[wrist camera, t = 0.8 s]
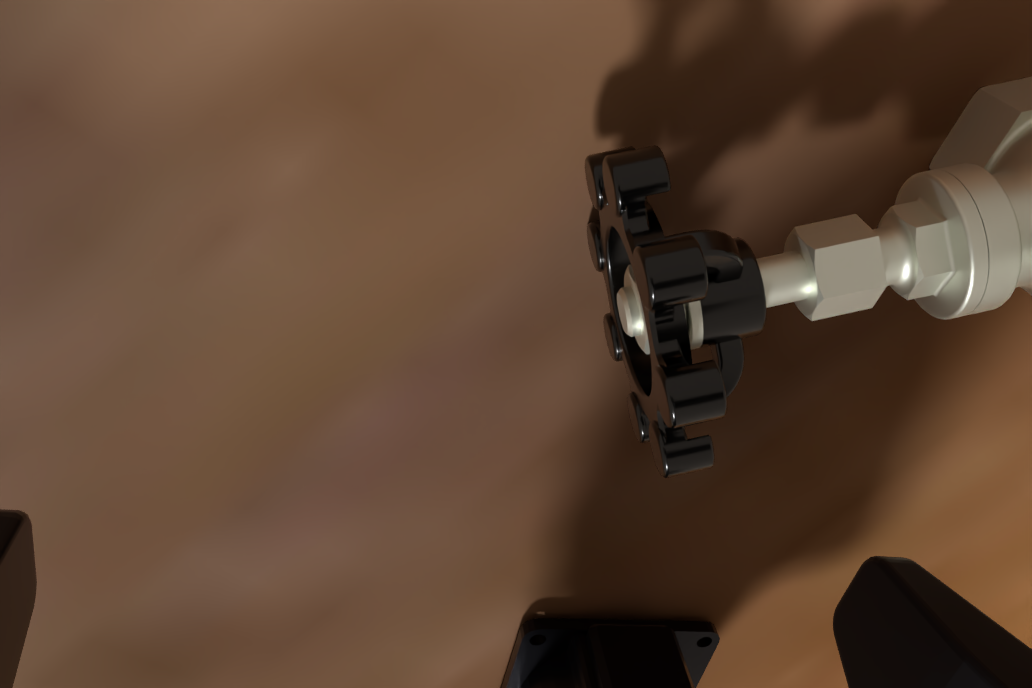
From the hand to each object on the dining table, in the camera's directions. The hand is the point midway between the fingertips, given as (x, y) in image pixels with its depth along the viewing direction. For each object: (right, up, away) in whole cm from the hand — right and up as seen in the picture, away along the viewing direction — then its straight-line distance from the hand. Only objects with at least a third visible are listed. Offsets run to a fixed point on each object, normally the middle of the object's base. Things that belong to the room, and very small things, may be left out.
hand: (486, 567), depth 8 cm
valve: (+8, +6, +12) cm, 16 cm away
